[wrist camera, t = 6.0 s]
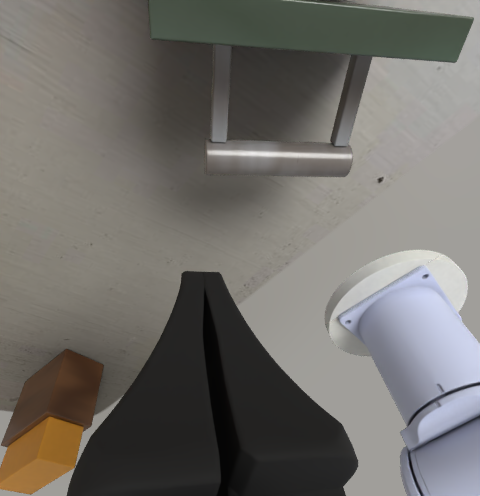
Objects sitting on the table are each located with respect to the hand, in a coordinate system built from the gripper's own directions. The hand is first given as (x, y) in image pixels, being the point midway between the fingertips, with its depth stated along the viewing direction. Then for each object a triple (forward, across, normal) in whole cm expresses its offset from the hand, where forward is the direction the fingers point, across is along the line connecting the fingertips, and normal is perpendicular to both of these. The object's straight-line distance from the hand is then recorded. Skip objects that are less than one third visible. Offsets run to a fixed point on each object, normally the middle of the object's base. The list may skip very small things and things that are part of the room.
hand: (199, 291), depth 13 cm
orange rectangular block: (+4, +9, +18) cm, 20 cm away
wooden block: (+9, +9, +18) cm, 22 cm away
